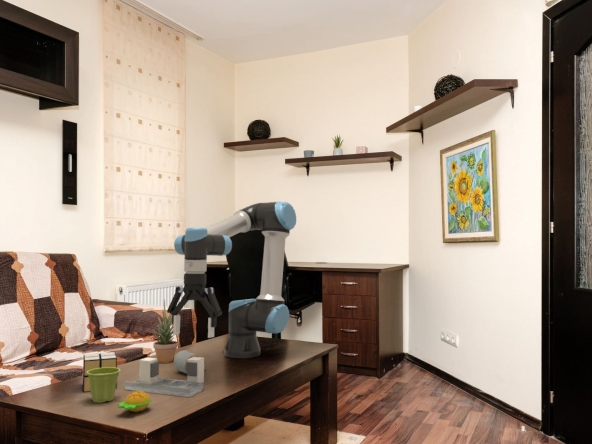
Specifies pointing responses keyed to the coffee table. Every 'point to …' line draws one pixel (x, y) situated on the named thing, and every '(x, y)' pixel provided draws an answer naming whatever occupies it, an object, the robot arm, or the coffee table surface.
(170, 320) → the potted plant
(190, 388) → the rail
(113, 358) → the puzzle cube
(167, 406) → the coffee table surface
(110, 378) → the plant pot
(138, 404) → the yellow green oval
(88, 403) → the coffee table surface
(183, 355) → the ceramic mug
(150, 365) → the block
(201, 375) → the beige jaw block
